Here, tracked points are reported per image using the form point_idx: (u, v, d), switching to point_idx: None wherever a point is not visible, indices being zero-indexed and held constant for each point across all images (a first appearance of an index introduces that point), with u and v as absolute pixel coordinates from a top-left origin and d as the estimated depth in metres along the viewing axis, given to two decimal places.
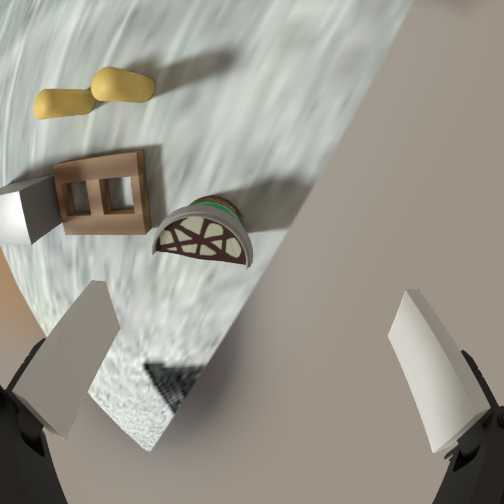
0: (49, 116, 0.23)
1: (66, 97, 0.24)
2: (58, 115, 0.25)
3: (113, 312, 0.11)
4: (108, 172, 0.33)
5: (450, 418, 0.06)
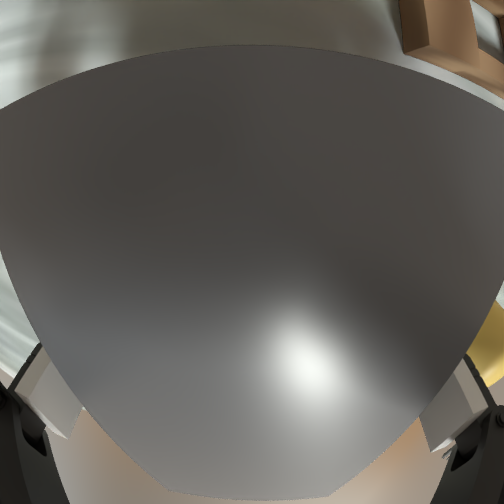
0: None
1: None
2: None
3: None
4: None
5: (447, 417, 0.06)
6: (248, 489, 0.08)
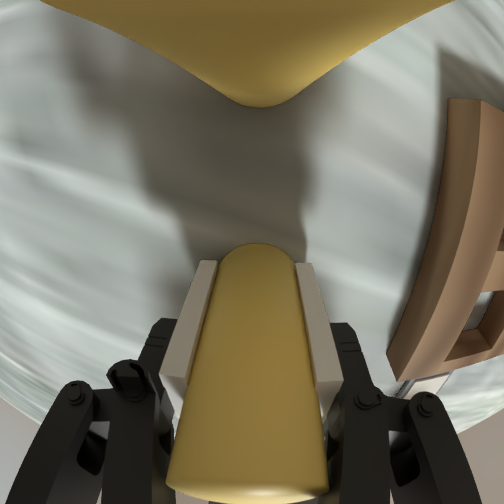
0: (326, 470, 0.05)
1: (240, 375, 0.06)
2: (319, 409, 0.06)
3: None
4: (497, 214, 0.09)
5: None
6: None
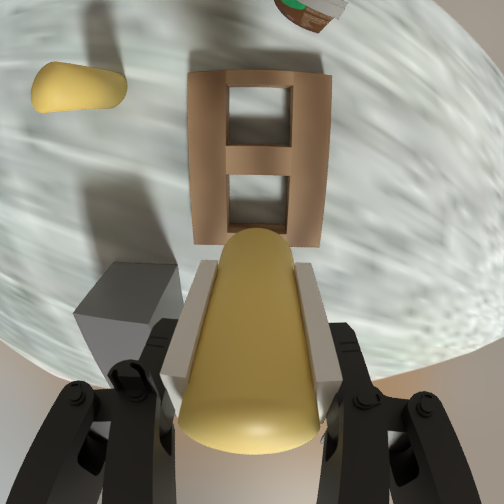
0: (316, 405, 0.07)
1: (241, 321, 0.08)
2: None
3: None
4: (215, 124, 0.21)
5: None
6: None
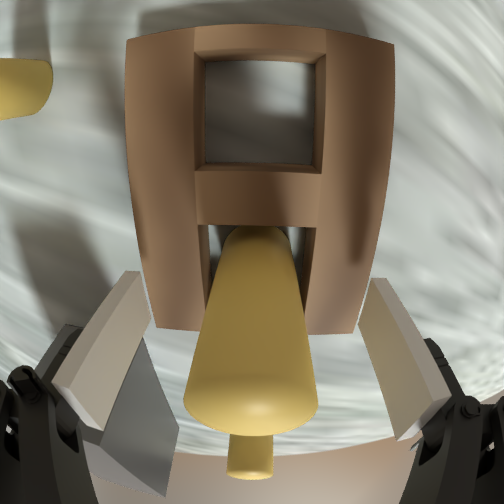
0: (314, 383, 0.07)
1: (242, 305, 0.09)
2: (307, 339, 0.09)
3: (145, 303, 0.12)
4: (174, 129, 0.11)
5: (410, 405, 0.06)
6: (118, 481, 0.17)
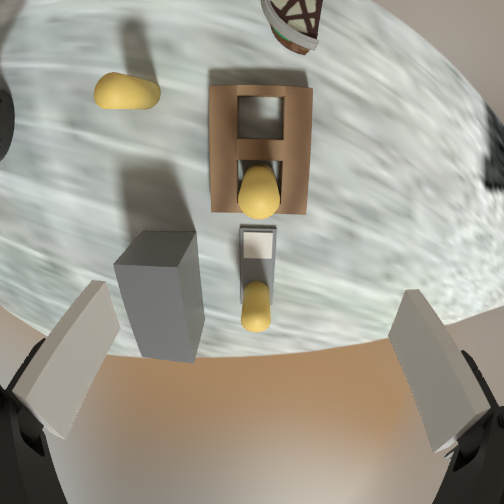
0: (278, 191, 0.26)
1: (255, 174, 0.27)
2: None
3: (113, 312, 0.11)
4: (229, 123, 0.29)
5: (450, 418, 0.06)
6: (162, 345, 0.36)
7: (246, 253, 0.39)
